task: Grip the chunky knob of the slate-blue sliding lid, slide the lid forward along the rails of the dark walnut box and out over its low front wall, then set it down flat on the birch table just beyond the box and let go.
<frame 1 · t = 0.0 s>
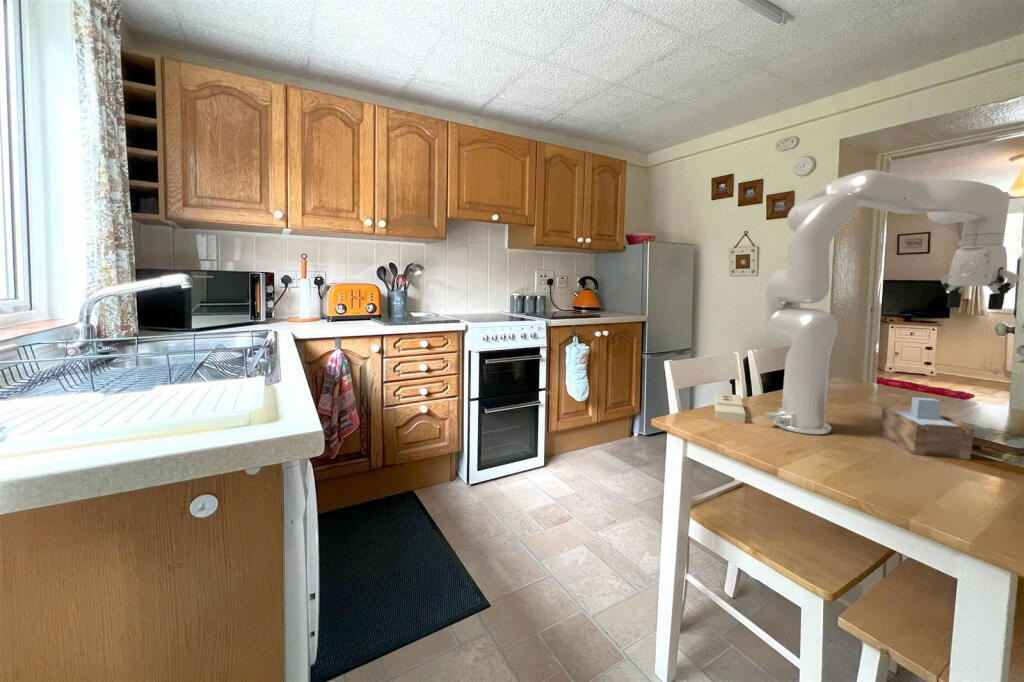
hand: (973, 308, 113), 31 cm above the table, fingers open, 9 cm apart
electrical outlet: (728, 414, 127), on the table
lid: (923, 422, 100), point 5 cm above the table, touching box
box: (921, 445, 100), on the table
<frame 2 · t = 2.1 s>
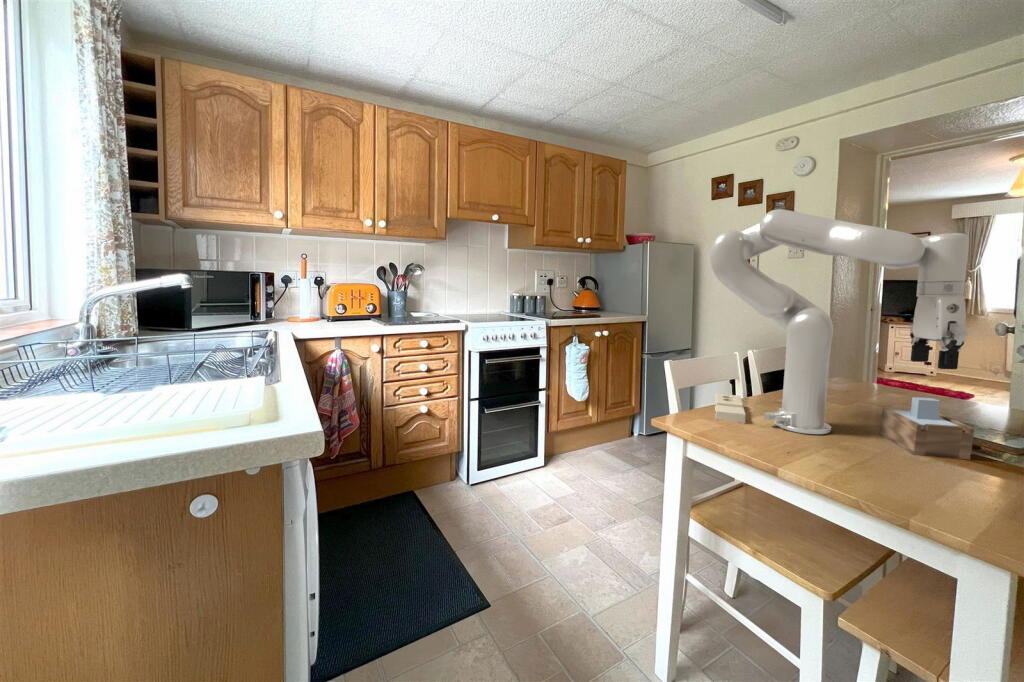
hand: (932, 365, 98), 19 cm above the table, fingers open, 9 cm apart
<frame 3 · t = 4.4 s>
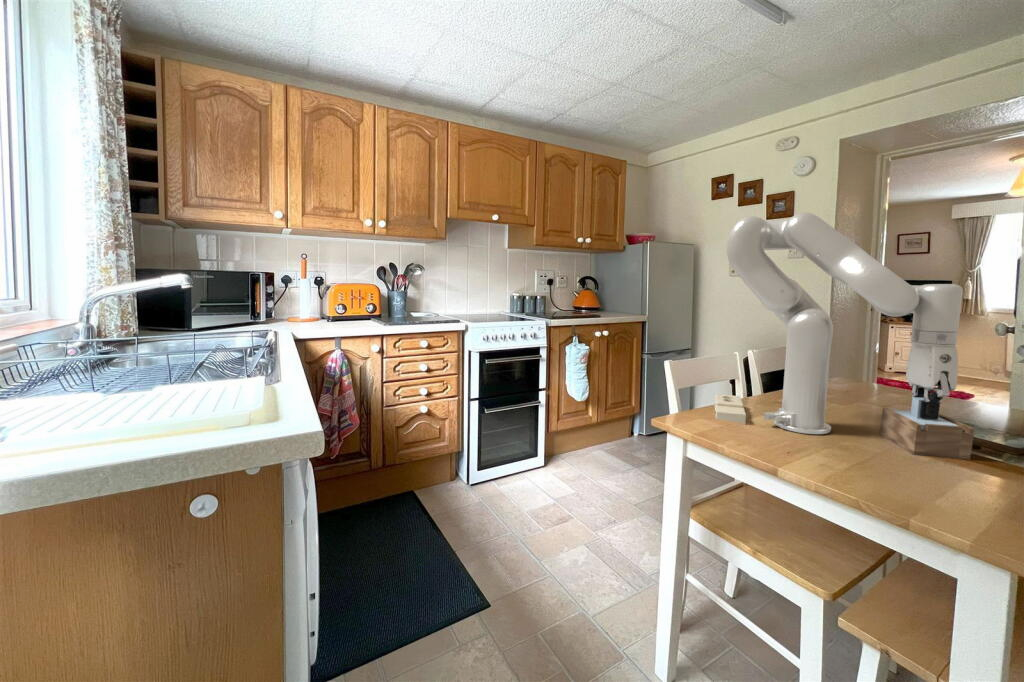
hand: (924, 415, 100), 7 cm above the table, fingers closed on lid, 2 cm apart
lid: (923, 422, 100), point 6 cm above the table, touching box, gripper
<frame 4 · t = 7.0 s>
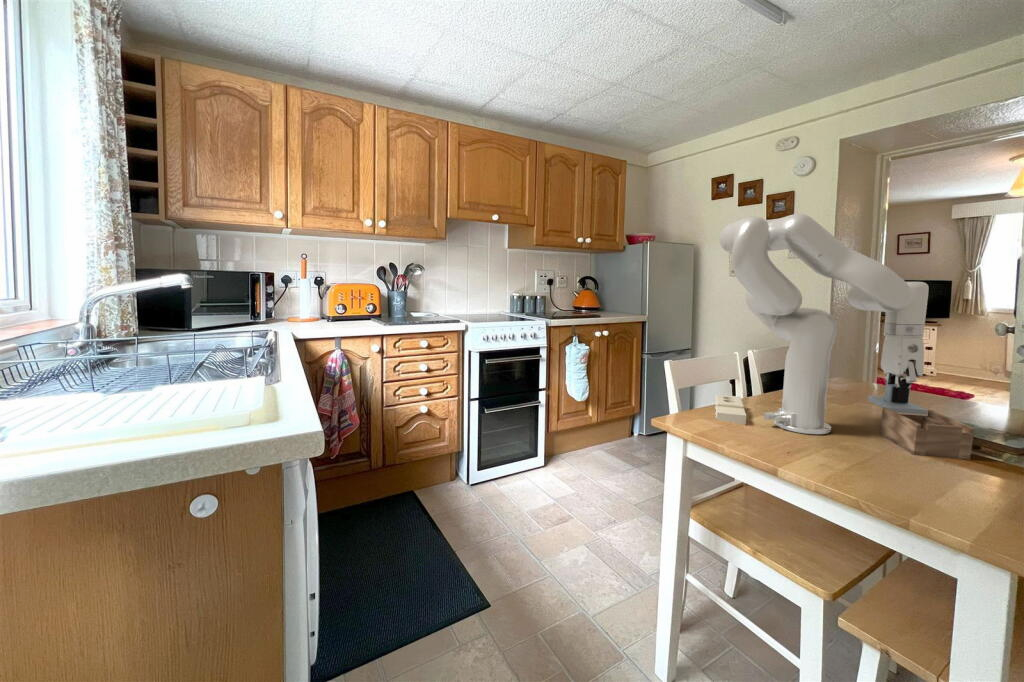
hand: (895, 400, 111), 8 cm above the table, fingers closed on lid, 2 cm apart
lid: (895, 406, 111), point 6 cm above the table, touching gripper
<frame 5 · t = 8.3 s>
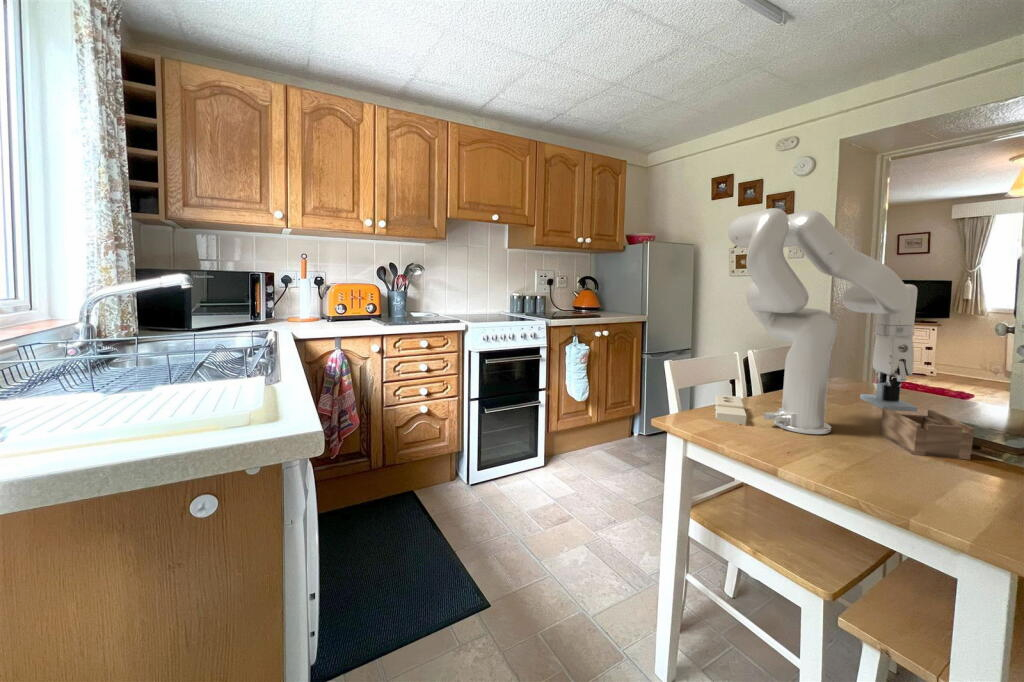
hand: (887, 398, 115), 7 cm above the table, fingers closed on lid, 2 cm apart
lid: (886, 404, 115), point 6 cm above the table, touching gripper
when the fingers open (3 cm above the table, at t = 9.6 s): lid drops 1 cm, on the table.
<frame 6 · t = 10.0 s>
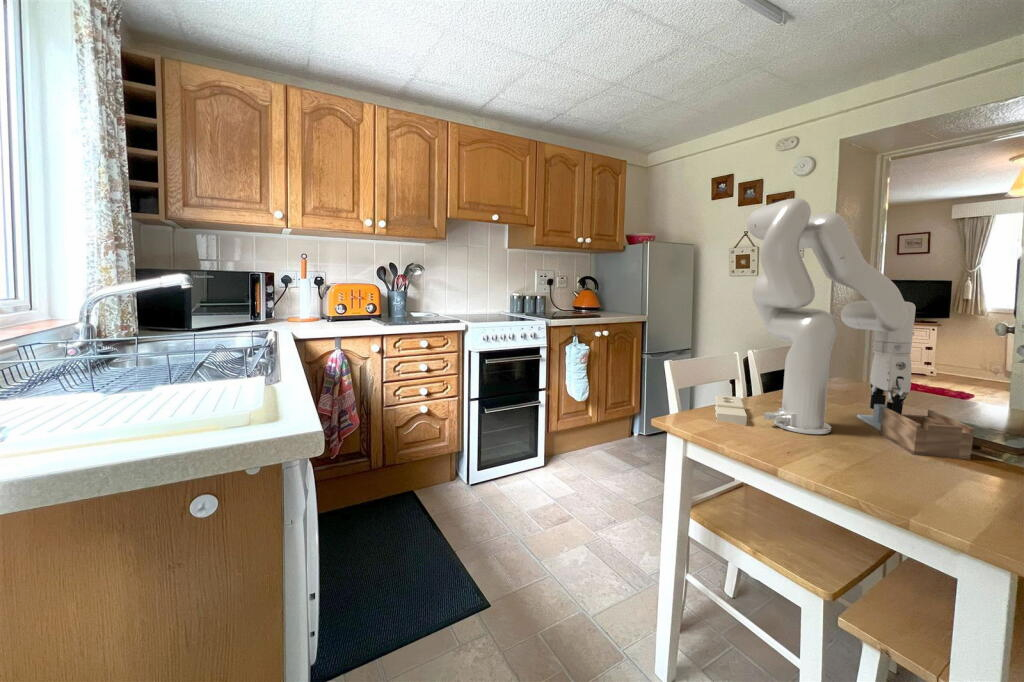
hand: (885, 412, 115), 3 cm above the table, fingers open, 7 cm apart
lid: (883, 426, 116), on the table
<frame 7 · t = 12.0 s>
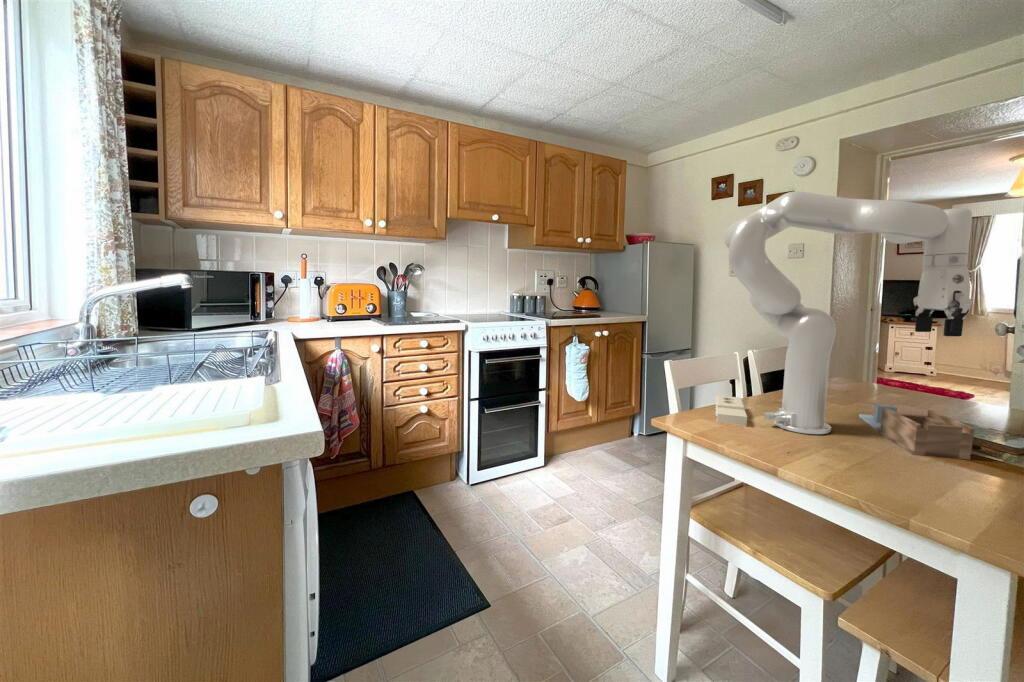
hand: (937, 333, 104), 26 cm above the table, fingers open, 9 cm apart
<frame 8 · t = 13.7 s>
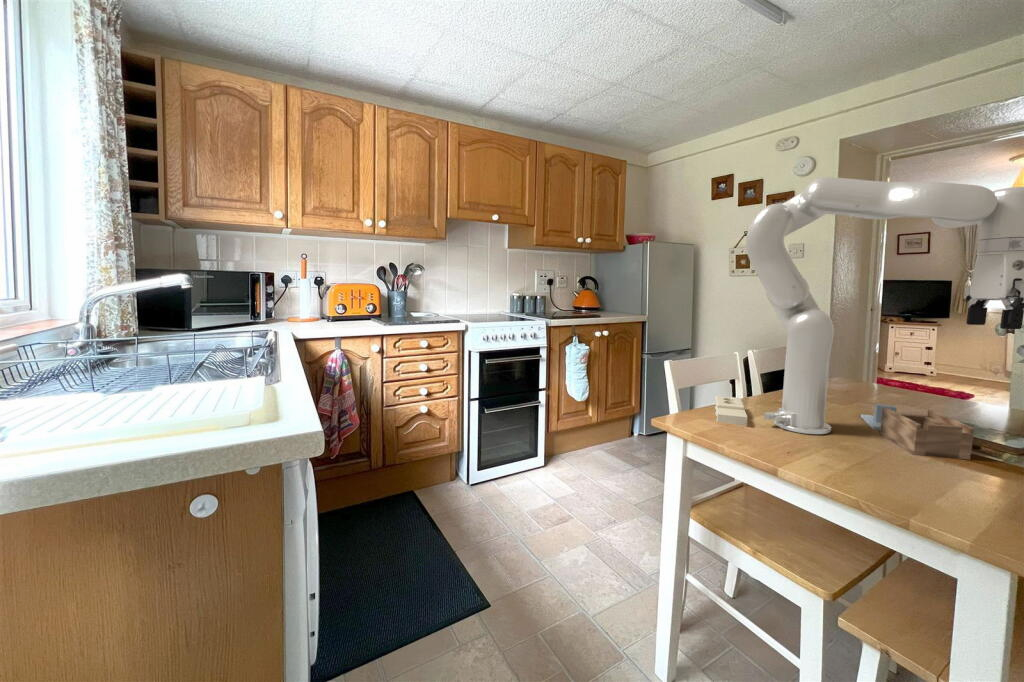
hand: (992, 326, 94), 28 cm above the table, fingers open, 9 cm apart
at the end: lid on the table; lid tilted 0°; lid inside the target area (0.2 cm from its centre), on the table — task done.
